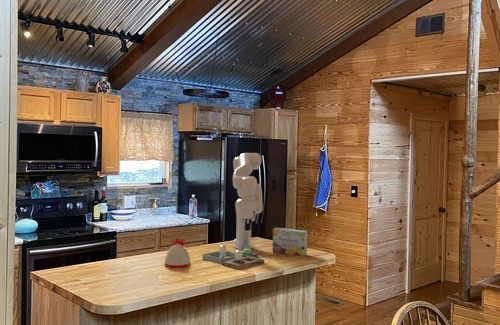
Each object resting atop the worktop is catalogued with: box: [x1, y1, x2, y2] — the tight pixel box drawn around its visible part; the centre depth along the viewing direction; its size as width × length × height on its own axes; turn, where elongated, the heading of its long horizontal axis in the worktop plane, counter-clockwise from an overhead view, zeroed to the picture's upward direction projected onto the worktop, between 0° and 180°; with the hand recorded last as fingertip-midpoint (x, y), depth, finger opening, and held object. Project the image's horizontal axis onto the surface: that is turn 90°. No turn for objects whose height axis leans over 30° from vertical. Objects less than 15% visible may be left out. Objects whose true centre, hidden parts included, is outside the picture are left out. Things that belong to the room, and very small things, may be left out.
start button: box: [243, 248, 252, 255], centre depth 282 cm, size 4×4×4 cm
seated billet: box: [234, 249, 243, 264], centre depth 261 cm, size 4×4×8 cm
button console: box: [242, 251, 259, 258], centre depth 282 cm, size 9×9×3 cm
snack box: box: [272, 227, 308, 257], centre depth 297 cm, size 21×6×15 cm, turn 62°
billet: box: [218, 244, 227, 259], centre depth 276 cm, size 4×4×8 cm
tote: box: [201, 250, 243, 265], centre depth 276 cm, size 16×16×4 cm
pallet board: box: [222, 256, 265, 271], centre depth 264 cm, size 12×20×3 cm, turn 136°
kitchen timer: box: [164, 237, 191, 269], centre depth 264 cm, size 14×14×15 cm
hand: (247, 230), depth 281 cm, fingers closed
